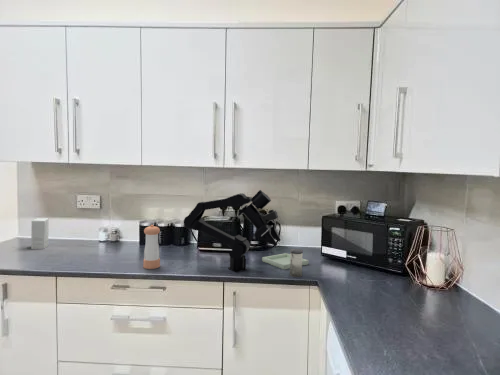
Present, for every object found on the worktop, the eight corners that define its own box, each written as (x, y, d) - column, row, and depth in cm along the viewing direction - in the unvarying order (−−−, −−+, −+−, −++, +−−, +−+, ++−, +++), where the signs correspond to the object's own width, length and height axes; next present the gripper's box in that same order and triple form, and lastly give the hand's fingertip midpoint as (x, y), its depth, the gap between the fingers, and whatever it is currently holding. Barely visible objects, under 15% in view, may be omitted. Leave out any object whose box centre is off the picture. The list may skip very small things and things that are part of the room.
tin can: (295, 278, 140) (296, 252, 140) (286, 274, 145) (287, 249, 144) (304, 276, 143) (305, 250, 143) (295, 272, 148) (296, 248, 147)
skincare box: (35, 246, 184) (35, 218, 184) (49, 245, 186) (49, 217, 186) (30, 249, 176) (30, 220, 176) (45, 249, 178) (44, 220, 178)
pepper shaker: (155, 269, 147) (155, 226, 146) (140, 268, 149) (140, 225, 148) (162, 265, 154) (163, 224, 153) (148, 263, 156) (148, 223, 155)
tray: (283, 269, 152) (283, 265, 152) (262, 261, 165) (262, 257, 165) (308, 264, 161) (308, 260, 161) (286, 256, 174) (286, 253, 174)
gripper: (263, 206, 136) (289, 235, 134) (271, 202, 155) (294, 227, 152) (244, 224, 139) (269, 252, 137) (254, 218, 157) (276, 243, 155)
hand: (278, 243), depth 145 cm, fingers open, 9 cm apart
